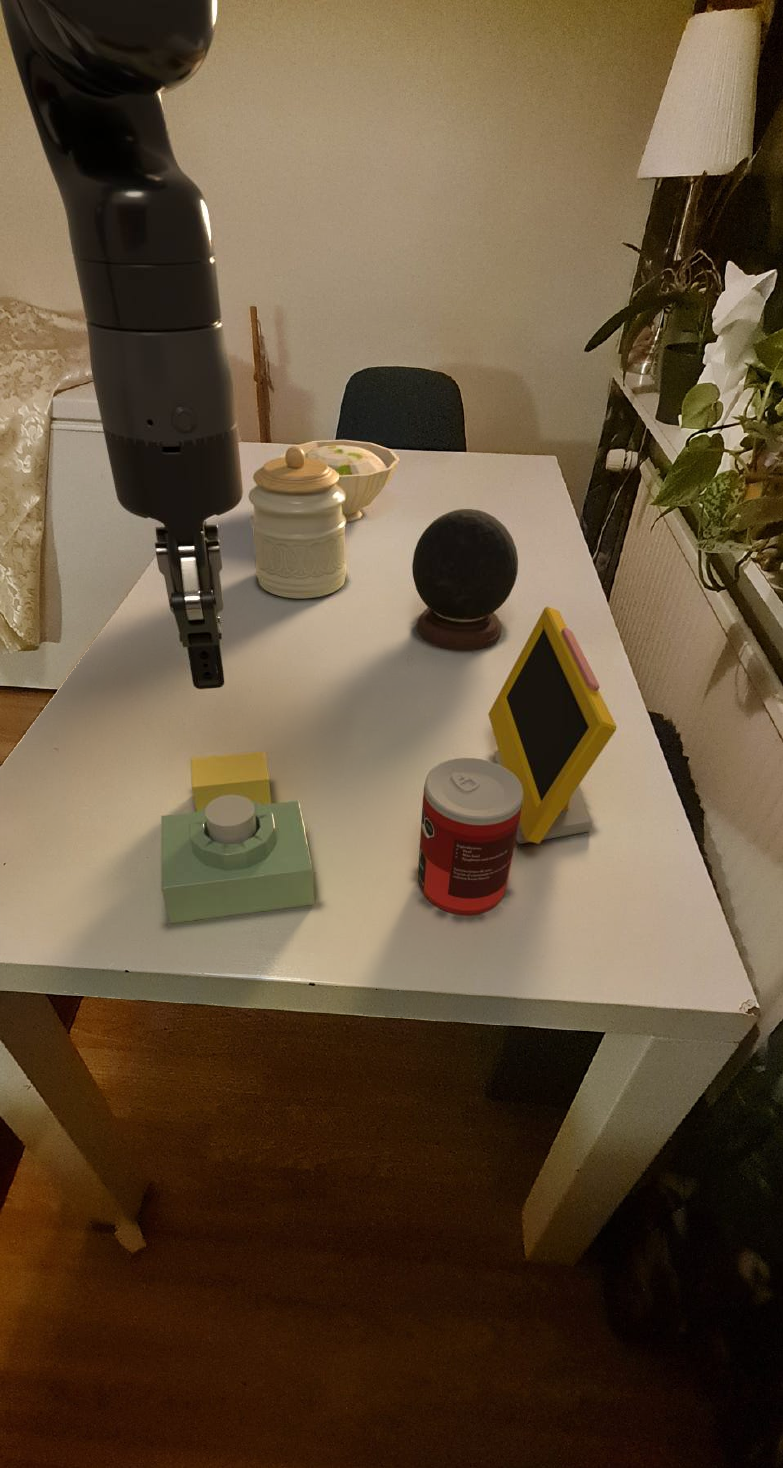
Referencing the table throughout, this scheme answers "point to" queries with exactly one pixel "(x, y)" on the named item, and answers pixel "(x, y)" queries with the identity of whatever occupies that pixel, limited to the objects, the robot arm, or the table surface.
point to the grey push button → (230, 819)
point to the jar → (298, 527)
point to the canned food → (468, 834)
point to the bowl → (355, 469)
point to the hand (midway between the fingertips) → (209, 683)
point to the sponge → (230, 778)
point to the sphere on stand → (463, 579)
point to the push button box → (235, 865)
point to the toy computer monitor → (550, 730)
